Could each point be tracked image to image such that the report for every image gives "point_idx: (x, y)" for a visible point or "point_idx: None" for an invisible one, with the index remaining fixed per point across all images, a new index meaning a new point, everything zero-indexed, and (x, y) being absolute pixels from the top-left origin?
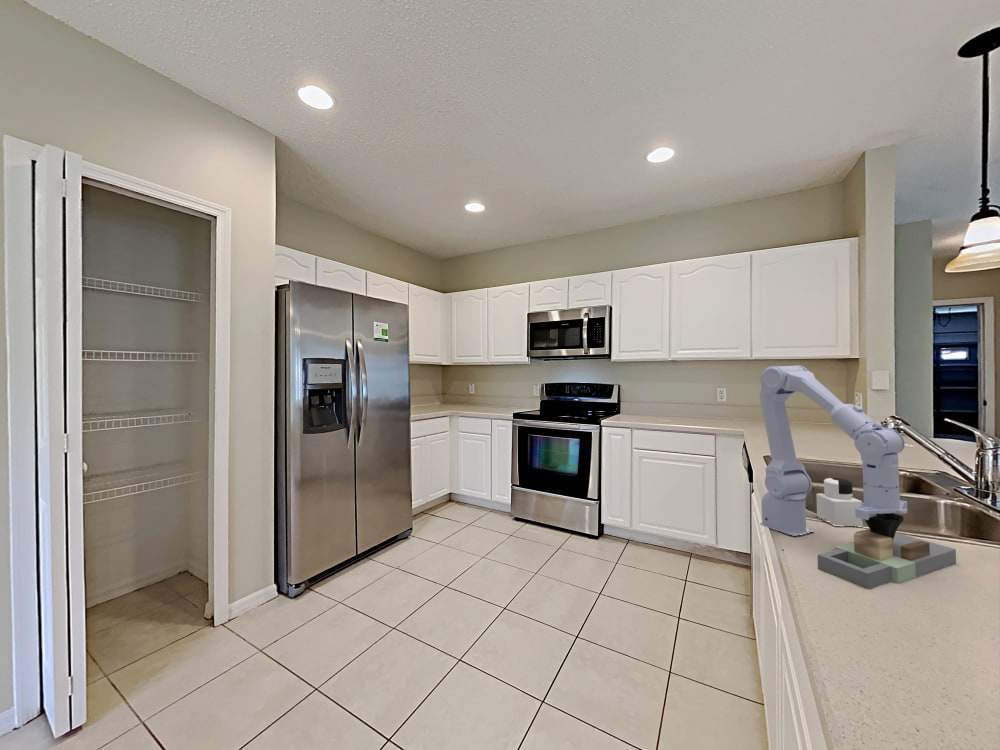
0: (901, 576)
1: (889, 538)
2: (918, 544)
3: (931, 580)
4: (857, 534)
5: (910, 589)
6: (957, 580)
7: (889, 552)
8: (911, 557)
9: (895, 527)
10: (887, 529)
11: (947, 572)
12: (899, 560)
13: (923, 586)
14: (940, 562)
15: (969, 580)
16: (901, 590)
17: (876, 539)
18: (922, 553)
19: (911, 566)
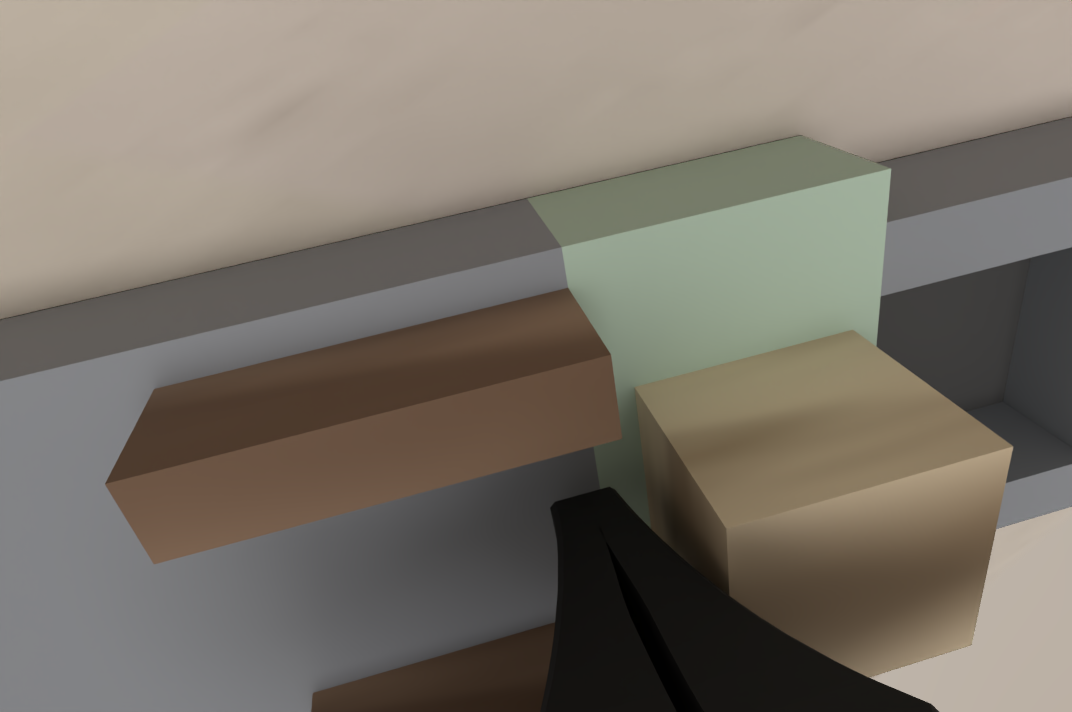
0: (772, 160)
1: (773, 522)
2: (338, 452)
3: (445, 118)
4: (953, 633)
5: (826, 20)
6: (162, 57)
7: (719, 403)
8: (549, 310)
9: (629, 699)
10: (807, 646)
11: (80, 226)
12: (661, 315)
13: (655, 38)
14: (40, 334)
15: (8, 24)
16: (914, 26)
17: (954, 507)
18: (312, 371)
19: (623, 221)
